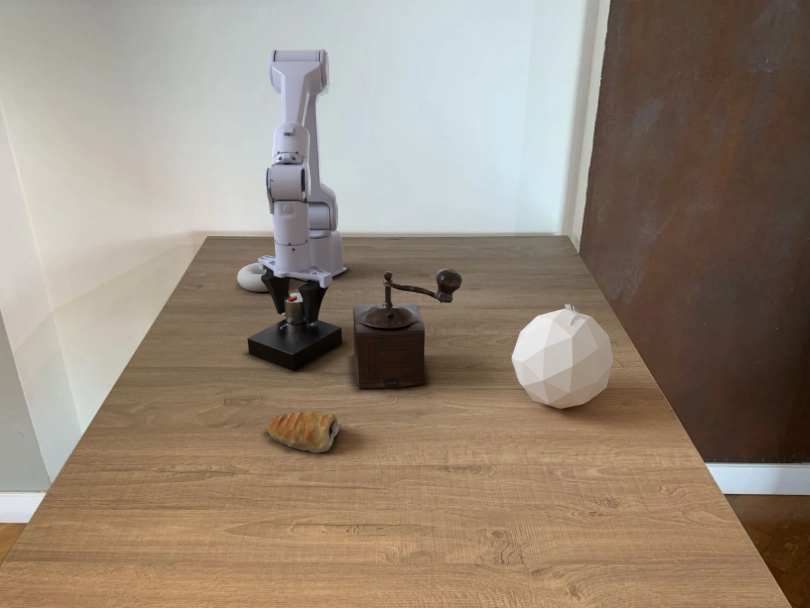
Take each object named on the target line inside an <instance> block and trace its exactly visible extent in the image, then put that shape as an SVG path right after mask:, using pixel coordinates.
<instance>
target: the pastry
mask: <svg viewBox="0 0 810 608" xmlns="http://www.w3.org/2000/svg"><path fill="white" fill-rule="evenodd" d="M266 430H267V432H268V434H269V436H270V437H271V438H272V439H273V440H274V441H275V442H279V443H280V444H283V445H285V446H287V447H288V448H292V449H295V450H301V451H309V452H310V453H315V454H316V453H317V454H319V453H325V452H328V451H329V450H330V448H331V447H332V445H333V443H334V438H335V437H336V436H337V435H338V434H339V431H340V425H339V421H338V418H337V416H336V415H335V414H334V413H333V412H330V413H326V412H322V411H315V410H312V409H307V410H305V411H303V412H302V411H301V412H289V413H285V414H279V415H278V416H275V417H274V418H273V419H272V420H271V421H270V422H269V423H267V425H266Z"/></svg>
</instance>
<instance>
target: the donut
mask: <svg viewBox="0 0 810 608" xmlns="http://www.w3.org/2000/svg"><path fill="white" fill-rule="evenodd" d="M264 274H266V269H265V270H261V269H259V263H258V262H254V263H250V264H247V265H246V266H243V267H242V268H241V269H240V270H239V271H238V273H237V277H236V279H237V282H238V285H240V287H241V288H243V289H245V290H247V291H250V292H257V293H264V292H265V293H266V292H269V291H268V289H267V287H266V286H265V285H264V283H263V282H262V281H261V276H262V275H264Z"/></svg>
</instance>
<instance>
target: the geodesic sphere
mask: <svg viewBox="0 0 810 608" xmlns="http://www.w3.org/2000/svg"><path fill="white" fill-rule="evenodd" d="M511 361H512V362H511V363H512V365H513V368H514V371H515V372H514V373H515V375H516V378H517V382H518V383H519V384H520V385H521V387H522V388H523V389H524V390H525V392H526V393H527V394H528V396H529V397H530V398H531V399H532V401H533V402H536V403H539V404H542V405H545V406H548V407H552V408H556V409H558V410H561V409H567V408H572V407H576V406H581V405H584V404H586V403H588V402H589V401H591V400H592V399H593V398H595V397H596V396H598V395H599V394H600V393H601V392H603V391H604V390H605V389H607V386H608V384H609V380H610V376H611V372H612V369H613V365H614V361H615V359H614V354H613V349H612V344H611V337H610V335H609V334H608V333H607V332H606V331H605V330H604V329H603V328H602V326H600V324H599V323H598V322H597V320H595V319H594V317H593V316H591V315H587V314H584V313H580V310H577V309H575V306H574V305H572V306H571V304H570V303H564V308H562V309H558V310H554V311H550V312H547V313H543V314H539V315H536V316H535V317H534V318H533V319H532V320H531V321H530V322H529V323H528V324H527V325H526V326H525V327H524V328H523V329H521V330H520V332H519V334H518V337H517V340H516V344H515V346H514V350H513V352H512V355H511Z"/></svg>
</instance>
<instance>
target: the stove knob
mask: <svg viewBox="0 0 810 608" xmlns="http://www.w3.org/2000/svg"><path fill="white" fill-rule="evenodd" d="M284 302H285V312H284V314H285V315H286V316H285V319H286V321H287V322H288V323H290V324H303V323H306V318H305V308H304V303H303V300H302V297H301V294H300V292H293V293H289V295H286V296H285V297H284Z"/></svg>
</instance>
